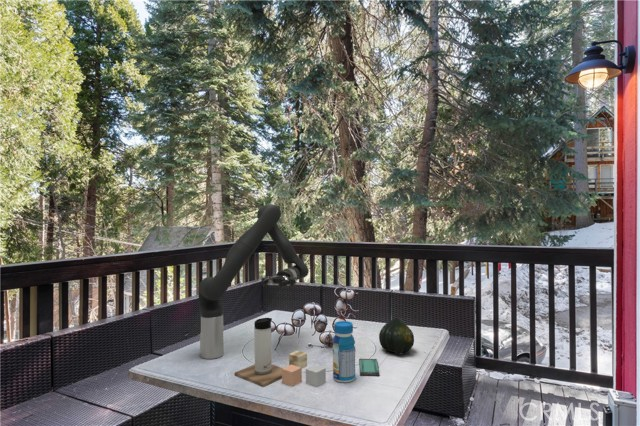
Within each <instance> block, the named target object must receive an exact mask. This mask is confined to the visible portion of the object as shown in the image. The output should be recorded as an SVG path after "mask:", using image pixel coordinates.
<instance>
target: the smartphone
mask: <svg viewBox="0 0 640 426" xmlns="http://www.w3.org/2000/svg"><path fill="white" fill-rule="evenodd" d="M358 364H359V375H360V376H361V377H380V370H379V368H380V367H379V362H378V359H377V358H359V360H358Z"/></svg>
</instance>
